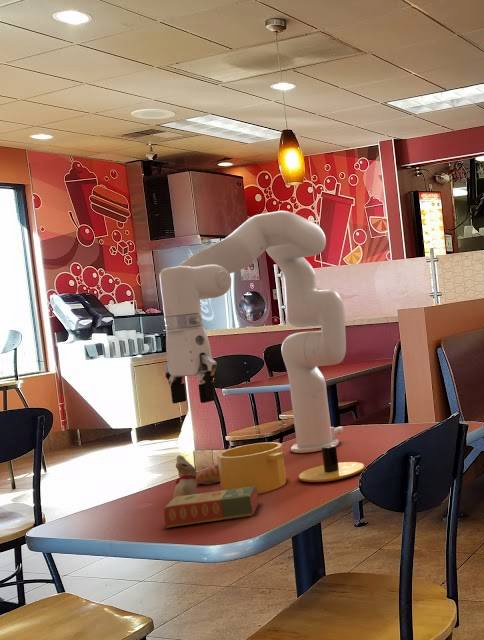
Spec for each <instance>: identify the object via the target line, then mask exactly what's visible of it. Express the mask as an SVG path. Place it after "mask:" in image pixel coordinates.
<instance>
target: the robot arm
mask: <svg viewBox="0 0 484 640" xmlns="http://www.w3.org/2000/svg"><path fill="white" fill-rule="evenodd" d="M326 244H327V238H326V235H325V233H324V230H323V229H322V228H321V227H320V226H319V225H318V224H317V223H315V222H314V221H311V220H310V219H308V218H305V217H303V216H301V215H298V214H297V213H294V212H291V211H288V210H277V211H272V212H265V213H260V214H259V213H258V214H255V215H252V216H251V217H249V218H248V219H246V220H245V221H244V222H243V223H241V225H239V226H238V227H237V228H236V229H235V230H233V231H232V232H231V233H230V234H228V235H227V236H226V237H225V238H223V239H222V240H220V241H217V242H215V243H213V244H211V245H210V246H208V247H206V248H203V249H202V250H199V251H198V252H196V253H194V254H192V255H190V256H189V257H187V258H186V259H185V260H183V261H182V262H180V263H179V264H178V265H177V266H171V267H165V268H163V269H161V270H160V272H159V284H160V292H161V293H160V294H161V300H162V308H163V309H162V310H163V315H164V316H163V317H164V327H165V332H166V334H165V336H166V337H165V351H166V361H165V363H164V364H163V365H162V370H163V372H164V374H165V378H166V379H167V381H168V382H167V383H168V385H169V387H170V394H171V402H172V404H180V403H184V402H186V401H187V399H188V398H187V392H186V383H185V382H184V379H185V377H193V376H195V378H196V379H197V380H198V382H199V383H200V384H198V393H199V401H200V403H201V404H205V403H209V402H213V401H215V390H214V389H215V388H214V382H215V376H216V374H217V372H216V370H217V366H218V363H217V360H214V358H213V355H212V349H211V343H210V341H209V336H208V333H207V330H206V328H205V327H204V323H203V316H202V315H203V314H202V305H201V300H206V299H215V298H219V297H221V296H224V295H225V294H226V293H228V292H229V290H230V289H231V286H232V277H231V274H233V273H237V272H239V271H242V270H243V269H246V268H248V267H249V266H250V265H252V264H253V263H254V262H255V261H256V260H257V259H258V258H259V257H260V256H261V255H263V253H264V252H266V253H267V255H268V256H269V257H270V258H271V260H273V262H274V263H275V264H276V265H277V266H278V268H279V270H280V271H281V273H282V276H283V281H284V283H283V284H284V298H285V299H284V301H285V315H286V320H287V322H288V324H289V325H290V326H292V327H295V328H307V327H308V328H309V327H319V326H320V328H321V330H315V331H314V330H309V331H301V332H294V333H292V334H289V335H288V336H287V337H285V338H284V340H283V341H282V344H281V349H280V350H281V356H282V359H283V363H284V366H285V369H286V373H287V377H288V383H289V390H290V398H291V407H292V415H293V425H294V431H295V440H296V441H295V442H296V443H295V444H293V445H292V446H291V447H290V448H291V452H292V453H295V454H308V453H315V452H316V453H317V452H322V447H323V446H326V445H336V447H337V446H339V444H340V441H339V439H338V438H336V437H337V435H341V434H343V433H344V432H345V429H344V427H343V426H338V427H334V426H332V425H331V416H330V407H329V401H328V391H327V390H328V389H327V383H326V380H325V377H324V374H323V373H322V372H321V370H320V368H319V367H326V366H327V367H328V366H335V365H338V364H340V363H342V362H343V360H344V359H345V357H346V353H347V336H346V335H347V333H346V313H345V306H344V302H343V299H342V297H341V295H340V294H339V293H338V292H337V291H335V290H334V289H329V288H328V289H327V288H326V289H319V290H318V286H317V275H316V272H315V269H314V268H313V266H312V265H311V263H310V262H309V261H308V259H306V258H308V257H314V256H318V255H320V254H321V253H323V252H324V250H325V248H326V246H327V245H326Z"/></svg>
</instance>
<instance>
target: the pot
mask: <svg viewBox="0 0 484 640" xmlns="http://www.w3.org/2000/svg"><path fill="white" fill-rule="evenodd" d="M216 457H217V464H218V467H219V475H220V482H219V483H220V491H222V490H229V489H237V488H244V487H251V486H256V487H257V492H258V495H261V494H264V493H265V494H266V493H268V492H271V491H274V490H277V489H279V488H282V487H283V486H284V485H285V484H286V483H287V476H286V466H285V453H284V451H283V444H282V443H280V442H272V441H269V442H257V443H250V444H244V445H239V446H235V447H232V448H227V449H225V450H223V451H220V452H218V454H217V455H216Z"/></svg>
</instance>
